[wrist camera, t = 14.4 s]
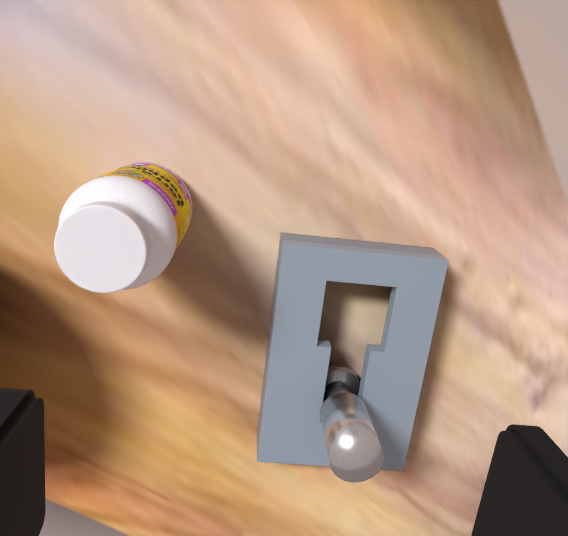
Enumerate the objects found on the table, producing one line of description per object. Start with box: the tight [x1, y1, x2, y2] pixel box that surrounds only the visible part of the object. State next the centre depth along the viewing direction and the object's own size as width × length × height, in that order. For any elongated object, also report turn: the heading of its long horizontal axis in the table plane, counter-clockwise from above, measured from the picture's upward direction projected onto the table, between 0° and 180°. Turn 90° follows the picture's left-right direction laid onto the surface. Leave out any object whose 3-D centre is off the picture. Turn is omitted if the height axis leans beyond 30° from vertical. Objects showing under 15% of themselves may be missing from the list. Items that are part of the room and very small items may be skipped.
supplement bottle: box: [54, 162, 192, 293], centre depth 33 cm, size 7×7×13 cm
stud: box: [320, 363, 384, 482], centre depth 40 cm, size 4×4×10 cm
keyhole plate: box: [257, 233, 449, 471], centre depth 42 cm, size 18×12×3 cm, turn 173°
